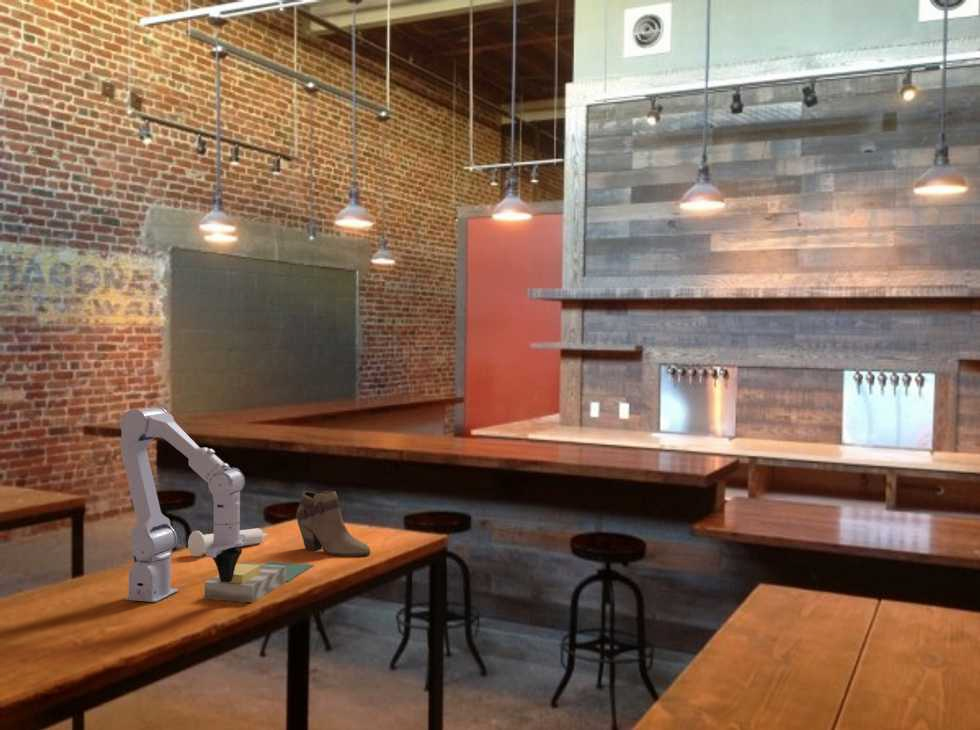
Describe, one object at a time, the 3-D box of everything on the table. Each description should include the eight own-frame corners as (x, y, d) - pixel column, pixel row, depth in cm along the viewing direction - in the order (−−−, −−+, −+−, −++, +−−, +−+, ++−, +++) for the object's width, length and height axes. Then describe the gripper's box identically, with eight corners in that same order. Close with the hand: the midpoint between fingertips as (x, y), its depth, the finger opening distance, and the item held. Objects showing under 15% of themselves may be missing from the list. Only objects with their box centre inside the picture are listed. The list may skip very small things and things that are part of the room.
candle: (190, 527, 241) (262, 519, 261) (185, 551, 241) (257, 541, 262) (205, 536, 237) (277, 527, 257) (200, 561, 237) (272, 550, 258)
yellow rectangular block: (242, 583, 200) (242, 575, 200) (218, 581, 201) (218, 573, 201) (260, 573, 209) (260, 565, 209) (237, 571, 210) (237, 563, 210)
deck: (252, 603, 199) (252, 585, 199) (204, 599, 201) (204, 582, 201) (286, 581, 216) (286, 565, 216) (241, 578, 219) (241, 562, 219)
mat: (287, 582, 216) (287, 580, 216) (239, 578, 219) (239, 577, 219) (313, 565, 232) (313, 564, 232) (268, 562, 235) (268, 561, 235)
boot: (363, 558, 240) (364, 497, 240) (288, 551, 247) (288, 491, 247) (375, 552, 248) (376, 492, 248) (302, 544, 255) (303, 486, 255)
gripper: (226, 530, 190) (226, 591, 191) (257, 517, 205) (257, 574, 205) (197, 528, 192) (197, 589, 192) (230, 515, 206) (229, 572, 207)
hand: (226, 581), depth 199 cm, fingers closed
